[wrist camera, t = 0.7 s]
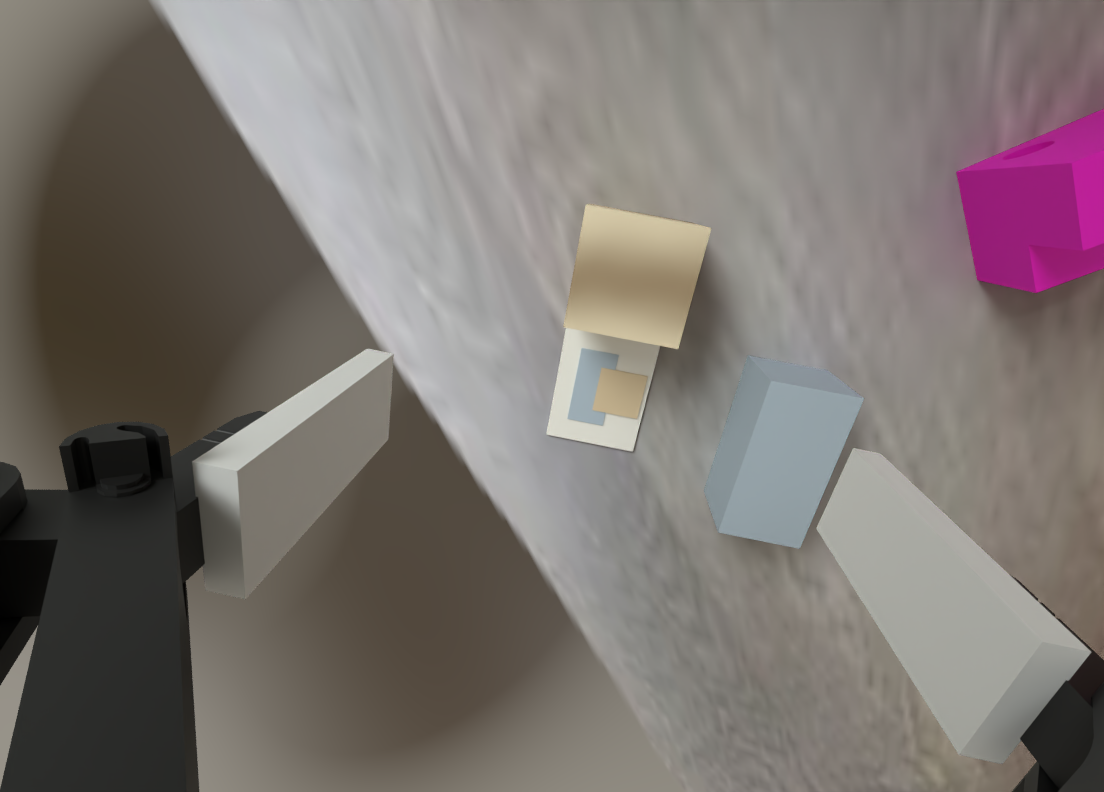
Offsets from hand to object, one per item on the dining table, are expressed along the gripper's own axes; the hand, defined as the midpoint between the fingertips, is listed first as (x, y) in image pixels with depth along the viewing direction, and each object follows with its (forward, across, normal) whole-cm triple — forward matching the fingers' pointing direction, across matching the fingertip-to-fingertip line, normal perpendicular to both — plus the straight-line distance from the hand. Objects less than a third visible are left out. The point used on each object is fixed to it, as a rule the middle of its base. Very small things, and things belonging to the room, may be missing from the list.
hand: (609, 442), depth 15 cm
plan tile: (+18, +1, -5) cm, 19 cm away
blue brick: (+19, +12, -6) cm, 23 cm away
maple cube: (+19, +1, +3) cm, 19 cm away
